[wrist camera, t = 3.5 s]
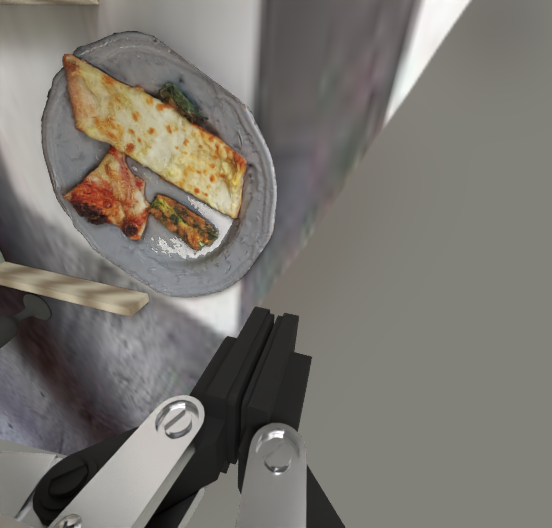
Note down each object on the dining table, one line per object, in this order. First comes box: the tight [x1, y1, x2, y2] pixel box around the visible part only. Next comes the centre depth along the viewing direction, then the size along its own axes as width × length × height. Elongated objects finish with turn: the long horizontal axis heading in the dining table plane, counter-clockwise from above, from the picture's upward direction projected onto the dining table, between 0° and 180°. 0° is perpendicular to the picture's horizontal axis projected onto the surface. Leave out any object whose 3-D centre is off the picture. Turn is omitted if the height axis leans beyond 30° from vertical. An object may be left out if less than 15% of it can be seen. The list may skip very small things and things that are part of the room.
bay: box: [0, 0, 149, 317], centre depth 31 cm, size 25×31×4 cm
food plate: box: [41, 31, 277, 297], centre depth 28 cm, size 25×23×4 cm
